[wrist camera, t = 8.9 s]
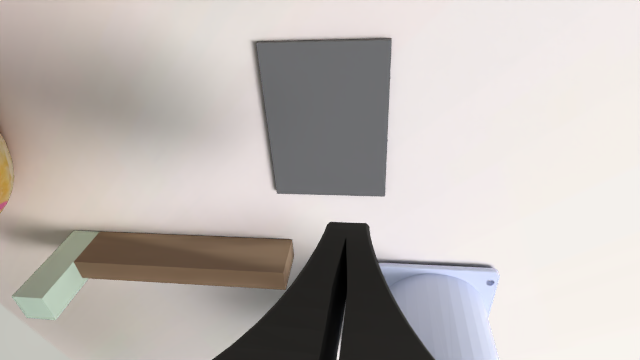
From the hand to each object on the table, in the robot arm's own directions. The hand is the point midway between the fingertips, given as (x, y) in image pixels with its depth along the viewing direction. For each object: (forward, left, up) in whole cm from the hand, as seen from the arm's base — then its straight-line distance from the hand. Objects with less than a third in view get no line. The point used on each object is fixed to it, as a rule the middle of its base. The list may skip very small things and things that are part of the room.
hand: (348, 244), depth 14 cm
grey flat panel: (0, +2, -9) cm, 10 cm away
